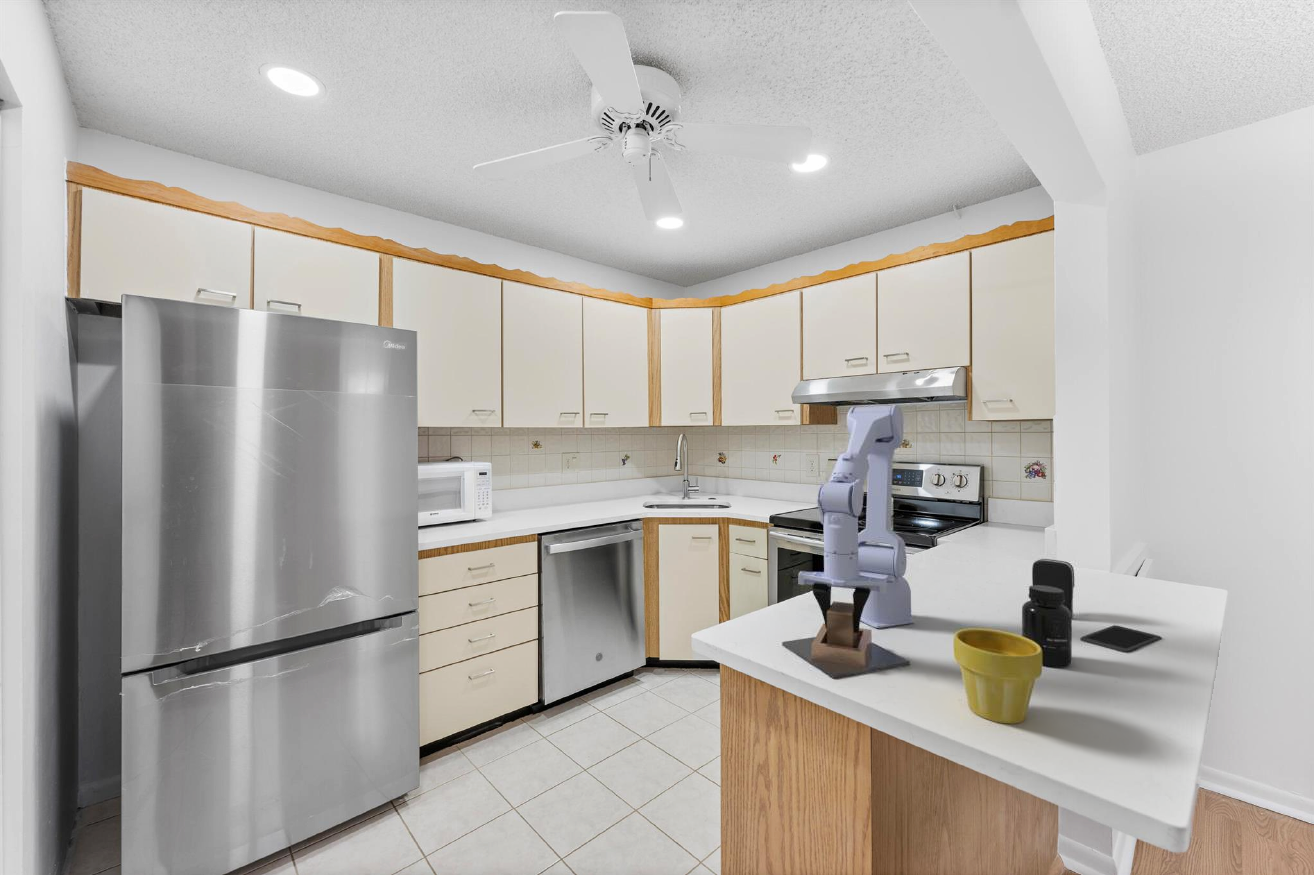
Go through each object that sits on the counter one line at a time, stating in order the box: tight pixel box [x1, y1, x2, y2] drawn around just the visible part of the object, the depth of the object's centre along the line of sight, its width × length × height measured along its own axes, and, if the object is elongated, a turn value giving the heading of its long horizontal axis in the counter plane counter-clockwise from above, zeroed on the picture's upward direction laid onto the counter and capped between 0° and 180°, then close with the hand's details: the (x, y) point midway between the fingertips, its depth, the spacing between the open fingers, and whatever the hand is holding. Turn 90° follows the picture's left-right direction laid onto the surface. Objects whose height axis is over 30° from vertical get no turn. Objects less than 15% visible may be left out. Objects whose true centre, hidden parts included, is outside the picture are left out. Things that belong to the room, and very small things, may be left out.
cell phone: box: [1079, 624, 1162, 654], centre depth 101 cm, size 7×14×1 cm, turn 118°
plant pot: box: [953, 627, 1043, 725], centre depth 75 cm, size 10×10×10 cm
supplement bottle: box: [1021, 584, 1073, 668], centre depth 92 cm, size 7×7×12 cm
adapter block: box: [827, 600, 857, 648], centre depth 96 cm, size 4×7×6 cm, turn 154°
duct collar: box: [781, 622, 911, 680], centre depth 96 cm, size 15×15×3 cm
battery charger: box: [1031, 558, 1075, 619], centre depth 115 cm, size 7×4×11 cm, turn 43°
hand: (842, 629), depth 96 cm, fingers closed on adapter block, 4 cm apart
